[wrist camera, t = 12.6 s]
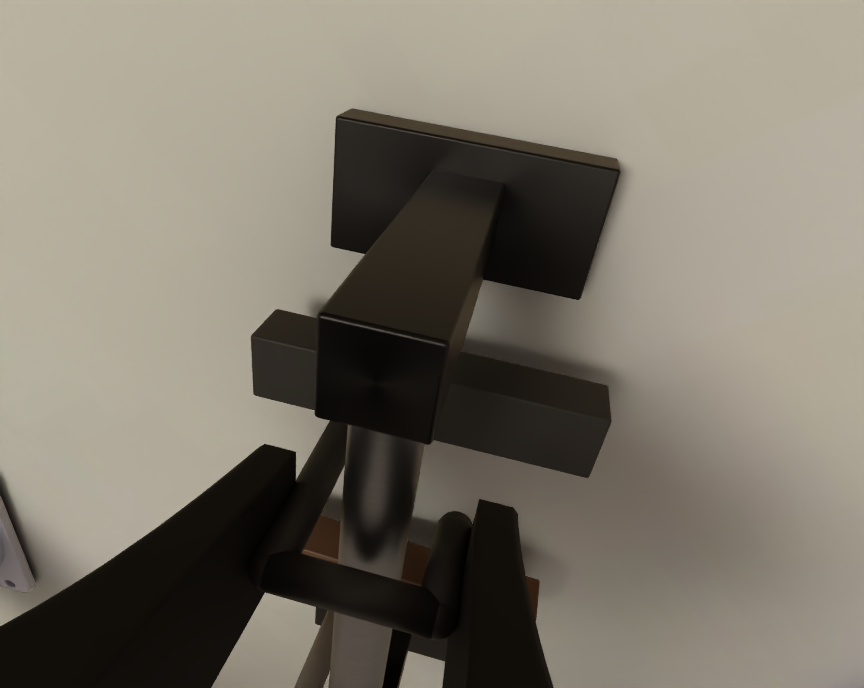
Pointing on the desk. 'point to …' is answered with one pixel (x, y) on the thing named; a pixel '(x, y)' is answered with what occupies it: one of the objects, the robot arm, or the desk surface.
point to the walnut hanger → (319, 658)
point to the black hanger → (459, 425)
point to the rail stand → (427, 316)
